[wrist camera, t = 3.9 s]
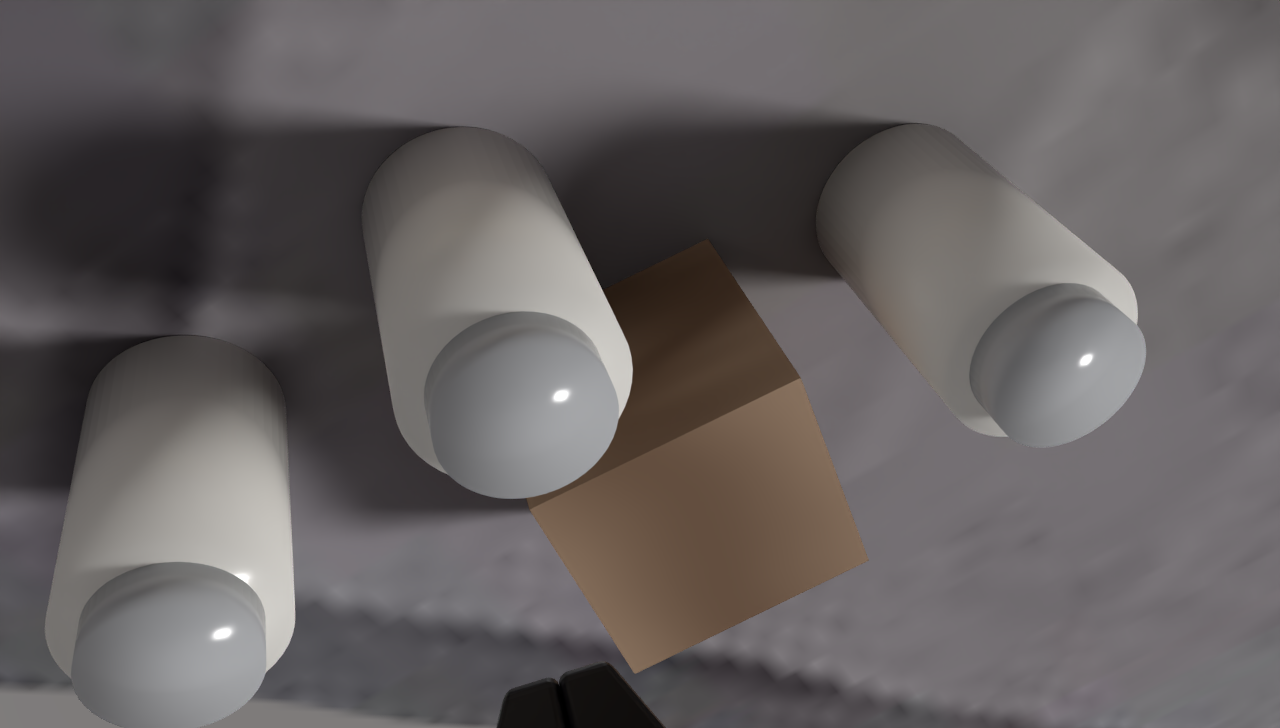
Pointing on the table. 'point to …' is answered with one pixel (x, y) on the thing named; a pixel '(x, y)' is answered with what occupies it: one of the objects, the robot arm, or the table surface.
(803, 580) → the walnut block
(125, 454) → the vial
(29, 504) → the table surface
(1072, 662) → the table surface
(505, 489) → the vial
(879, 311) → the vial
